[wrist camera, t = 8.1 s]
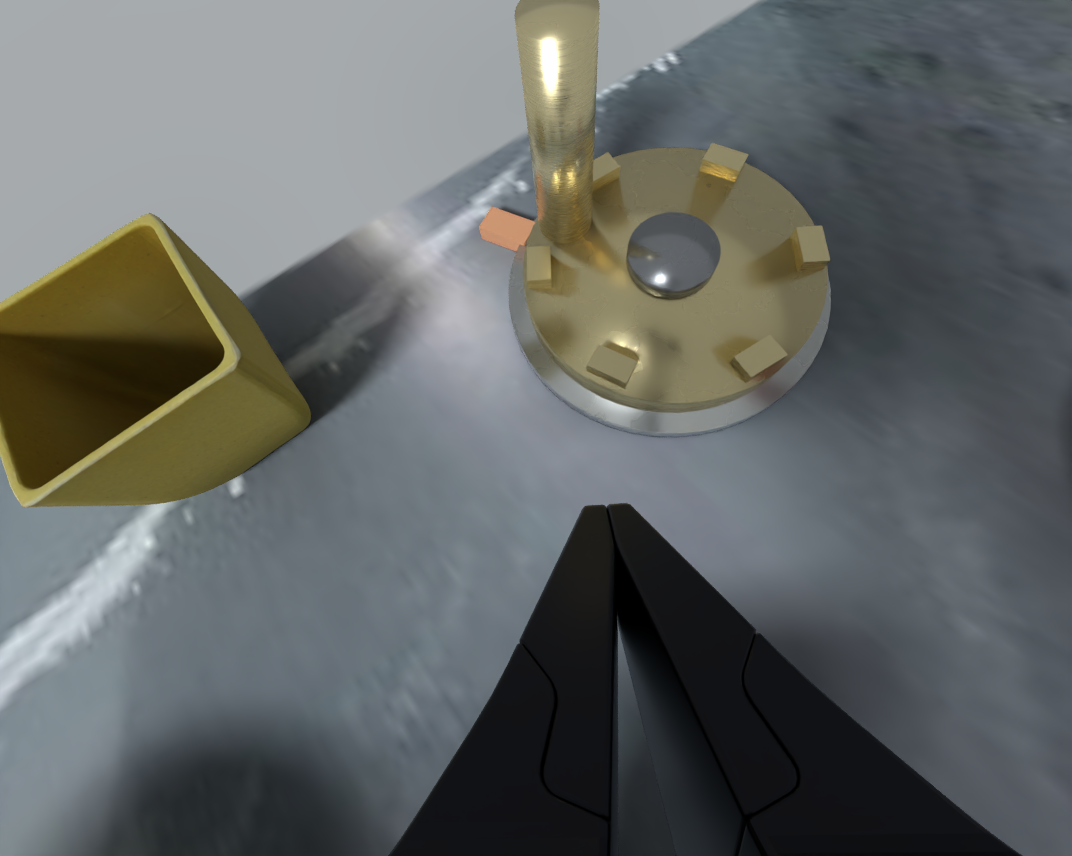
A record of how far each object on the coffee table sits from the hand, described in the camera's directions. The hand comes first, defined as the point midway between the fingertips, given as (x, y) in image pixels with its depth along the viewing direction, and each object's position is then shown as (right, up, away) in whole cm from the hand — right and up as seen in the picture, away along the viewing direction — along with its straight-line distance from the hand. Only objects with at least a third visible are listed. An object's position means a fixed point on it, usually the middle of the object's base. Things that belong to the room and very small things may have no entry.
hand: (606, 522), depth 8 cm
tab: (-3, +13, +19) cm, 23 cm away
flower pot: (-17, +2, +17) cm, 24 cm away
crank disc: (+6, +9, +17) cm, 20 cm away
